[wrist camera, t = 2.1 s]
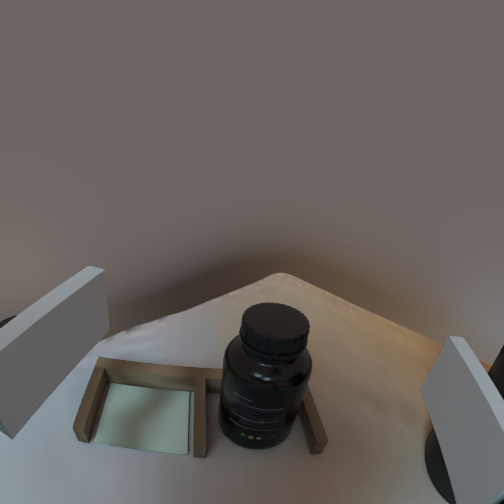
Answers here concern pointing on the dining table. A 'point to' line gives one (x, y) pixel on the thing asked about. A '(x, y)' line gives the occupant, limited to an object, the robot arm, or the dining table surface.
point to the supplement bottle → (264, 376)
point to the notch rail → (162, 407)
